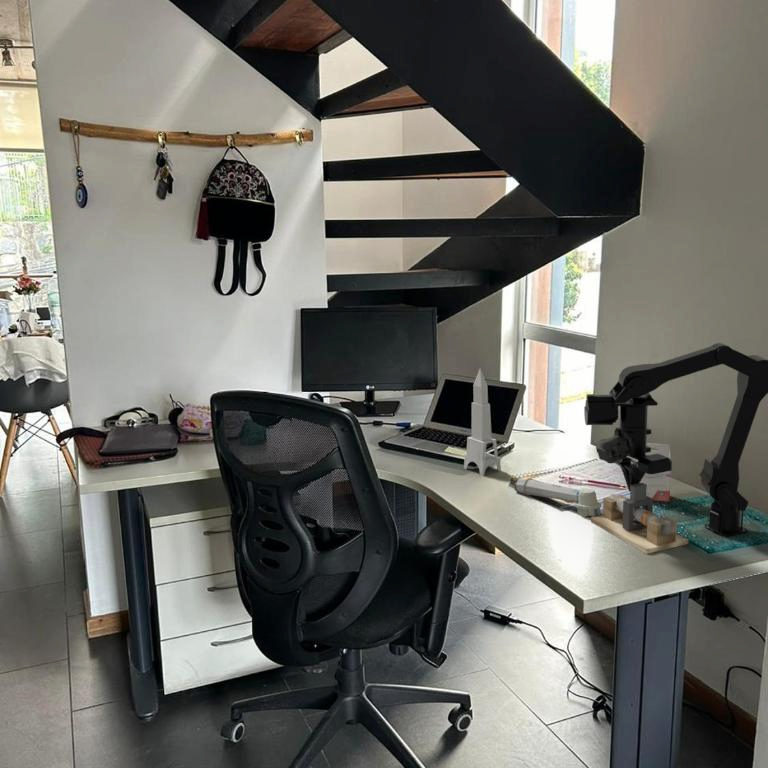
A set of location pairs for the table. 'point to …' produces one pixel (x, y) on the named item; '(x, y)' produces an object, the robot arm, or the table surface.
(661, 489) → the ink cartridge box
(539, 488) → the grey piece
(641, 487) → the collar
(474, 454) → the sculpture
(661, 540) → the pipe stand
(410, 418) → the table surface
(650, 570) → the table surface
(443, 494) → the table surface
